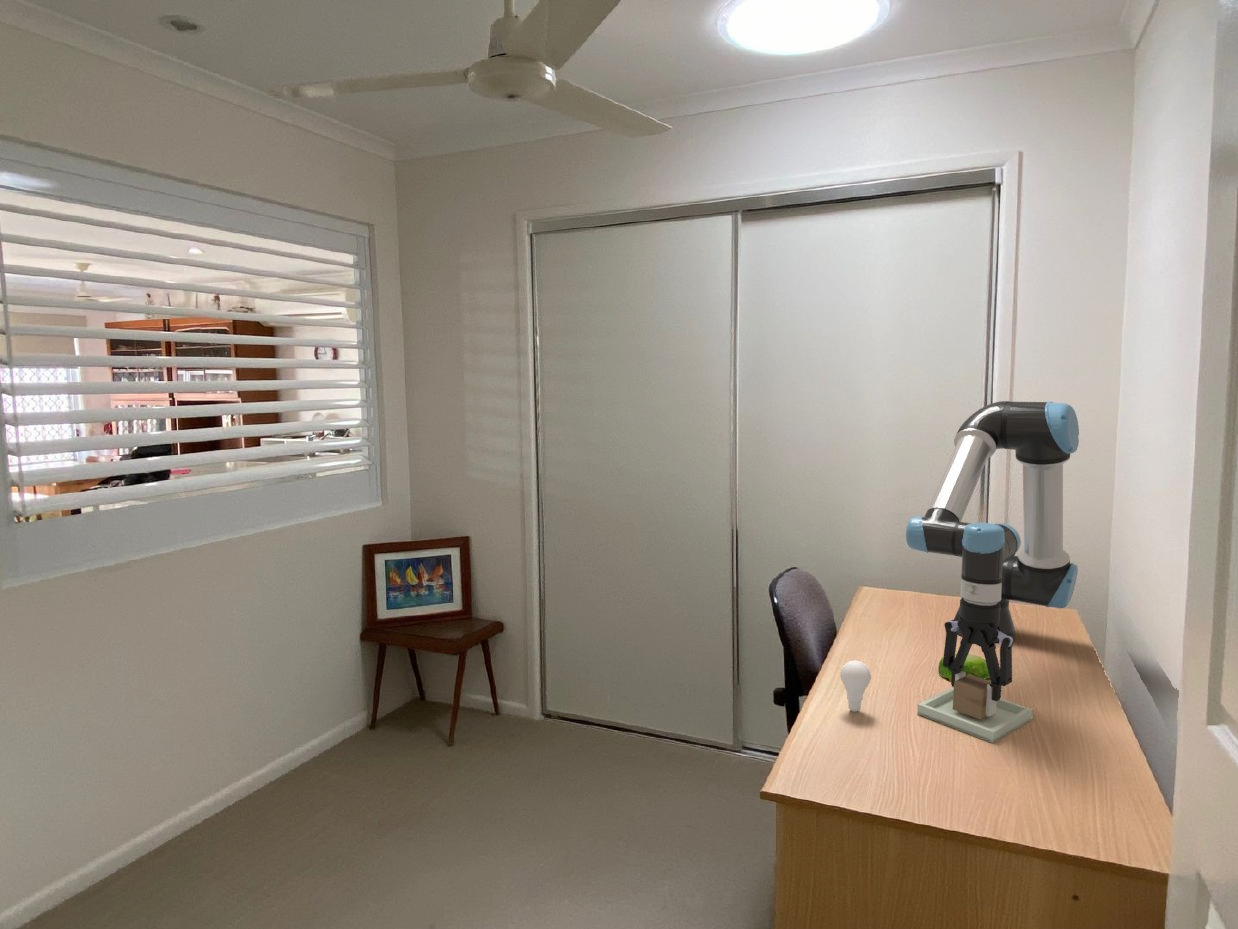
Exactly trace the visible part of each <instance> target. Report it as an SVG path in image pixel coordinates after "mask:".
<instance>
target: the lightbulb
mask: <svg viewBox="0 0 1238 929" xmlns="http://www.w3.org/2000/svg"><path fill="white" fill-rule="evenodd" d="M839 674H840V680H841V682H842V684H843V686H844V688H845V690H846V698H847V704H848V705H847V706H848V709H849V710H850V711H851V712H853V713H857V712H859V711H861V709H862V701H863V699H864V694H865V690H866V689H867V688H868V686H869V684H870V683H871V679H872V674H871V670H870V669H869V667H868V666H867V664H865V662H862V661H860V660H849V661H847V662H846V663H844V664H843V666H842V667H841V669H840V673H839Z"/></svg>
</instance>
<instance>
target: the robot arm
mask: <svg viewBox="0 0 1238 929" xmlns="http://www.w3.org/2000/svg"><path fill="white" fill-rule="evenodd" d="M1079 429H1080V428H1079V421H1078V417H1077V412H1076V411H1075V409H1074V408H1073V406H1071V405H1070V404H1068V403H1063V402H1053V401H1009V400H1006V401H1005V400H1003V401H1002V400H999V401H996V402H992V403H989V404H987V405H985V406H982V407H981V408H979V409H978V410H977V411H975V412H974V413H972V414H971V415H970V416H969V417H968V418H966V420H965V421H963V423H962V424H961V426H959V429H958V430H957V432H956V435H955V437H954V439H953V445H954V446H955V447H954V449H953V452H952V453H951V456H950V458H949V461H948V463H947V465H946V467H945V470H944V472H943V474H942V476H941V479H940V481H939V483H938V486H937V488H936V489H935V492H934V494H933V496H932V499H931V501H930V503H929V504H928V508H927V510H926V513H925V514H924V516H913V517H911V518H910V519H909V520H908V523H907V525H906V530H905V538H906V539H905V540H906V543H907V545H908V547H909V548H910V549H912V550H915V551H919V552H923V553H927V554H928V553H933V554H940V555H945V556H946V555H947V556H954V557H958V558H961V576H960V578H961V580H960V597H961V599H959V606H958V609H957V610H956V613H955V616H954V619H951V620H948V621H946V622H944V629H945V634H946V635H945V641H944V651H943V657H942V658H943V666H944V667H945V668H949V669H950V670H951V672H952V678H951V679H952V680H951V681H950V682H951V683H950V684H951V688H952V687H954V682H955V681H957V680H959V679H961V678H963V677H965V675H966V672H963V671H962V672H961V670H962V669H964V668H963V666H964V663H965V661H966V658H967V656H968V654H970V651H971V648H972V646H973V645H976V646H978V647H980V649H981V653H983V655H984V660H985V661H986V664H987V668H988V672H989V676H990V677H989V681H991V683H990V684H988V685H987V699H986V716H991V715H993V714H995V713H996V701H998V700H1000V699H1002V688H1003V687H1005V686H1008V685H1010V684H1012V683H1013V646H1014V643H1015V640H1016V638H1015V635H1016V634H1015V633H1016V629H1015V624H1014V620H1013V617H1012V614H1011V611H1010V601H1014V602H1020V603H1025V604H1026V603H1027V604H1029V605H1030V604H1032V605H1037V606H1041V607H1046V608H1055V609H1065V608H1067V607H1068V606H1069V604H1070V602H1071V600H1072V596H1073V593H1074V590H1075V587H1076V582H1077V579H1078V577H1077V576H1078V571H1079V569H1078V568H1079V566H1078V565H1077V564H1075V563H1074V562H1071V556H1070V554H1069V553H1068V552H1067V551H1066V550H1064V544H1063V543H1064V539H1063V538H1064V536H1063V535H1064V464H1065V463H1066V462H1068V461H1069V460H1070V458H1071V454H1074V453H1076V451H1077V450H1078V448H1079V442H1080V440H1079V435H1080V430H1079ZM1002 449H1003V450H1014V452H1015V459H1016V460H1017V461H1018V462H1019V464H1021V465H1022V493H1023V494H1022V500H1023V502H1022V503H1023V504H1022V506H1023V548H1022V549H1020V547H1021V544H1022V542H1021V537H1020V534H1019V532H1018V531H1017V530H1016V528H1015V527H1013V526H1012V525H1010V524H1007V523H999V522H998V523H989V522H972V523H971V522H964V521H962V520H963V518H964V516H965V513H966V510H967V508H968V506H969V503H970V501H971V499H972V496H973V495H974V494H973V493H974V491H975V488H976V486H977V484H978V482H979V479H980V477H981V474H982V473H983V470H984V467H985V466H986V462H987V461H988V459H989V458H992V456H994V454H995V453H996V451H997V450H1002ZM1019 549H1020V550H1019ZM1017 552H1018V553H1017ZM1016 553H1017V555H1016ZM958 635H959V636H961V640H960V643H959V644H960V645H959V648H958V650H957V643H958V641H957V640H958ZM996 643H998V644H999V645H1000V647H999V659H998V656H997V651H996V649H997V645H996ZM956 650H957V652H956ZM955 654H957V655H956V657H955Z"/></svg>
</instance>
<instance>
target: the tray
mask: <svg viewBox="0 0 1238 929" xmlns="http://www.w3.org/2000/svg"><path fill="white" fill-rule="evenodd" d="M953 693H954V687H952V686H951V687H950V688H948V689H946V690H944V691H941V692H939V693H938V694H935V695H934V696H931V697H930V698H927V699H925V700H923V701H922V702H919V703H917V712H916V714H917V715H918V716H921V717H923V718H926V719H929V720H931V721H933V722H937V723H939V724H942V725H945V726H947V727H949V728H952V729H954V730H958V731H960V732H963V733H965V734H967V735H969V736H970V735H971V736H973V737H974V738H975V737H976V738H978V739H981V740H982V741H983V740H984V741H986V742H989V743H990V744H995V743H996V742H998V741H999V740H1001V739H1003V738H1004V737H1006V736H1007V735H1009V734H1010V733H1013V731H1015V730H1017V729H1019V728H1020V727H1022V726H1024V725H1025V724H1027V723H1028V722H1031V721H1032V720H1033V711H1034V710H1033V708H1031V707H1027V706H1023V705H1021V704H1018V703H1015V702H1012V701H1009V700H1006V699H1003V698H1000V700H998V701H996V713H995V714H993V715H991V716H987V717H985V718H983V719H981V720H980V719H978V718H975V717H972V716H970V715H967V714H964V713H961V712H959V711H956V710H953Z"/></svg>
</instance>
